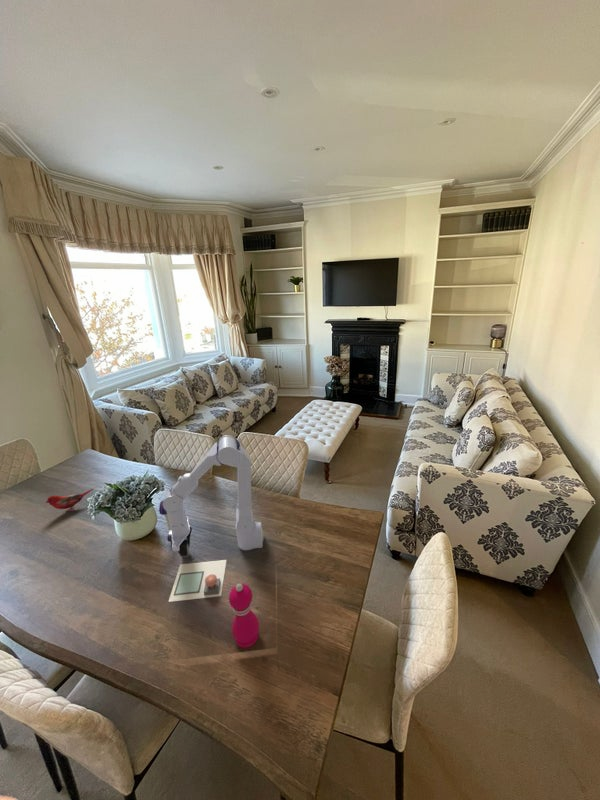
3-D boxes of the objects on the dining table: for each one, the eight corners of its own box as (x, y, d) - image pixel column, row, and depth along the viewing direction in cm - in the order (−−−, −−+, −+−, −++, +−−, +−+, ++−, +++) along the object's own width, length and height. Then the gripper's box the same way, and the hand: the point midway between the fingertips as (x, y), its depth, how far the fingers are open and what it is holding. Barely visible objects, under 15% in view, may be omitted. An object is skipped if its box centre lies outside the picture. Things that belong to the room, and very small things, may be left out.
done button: (218, 580, 105) (217, 573, 104) (216, 589, 102) (215, 583, 101) (207, 581, 105) (206, 575, 104) (205, 591, 101) (203, 584, 100)
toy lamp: (174, 542, 124) (166, 506, 119) (163, 540, 125) (154, 505, 120) (181, 533, 129) (173, 498, 123) (170, 531, 130) (162, 497, 124)
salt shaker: (191, 551, 118) (187, 536, 116) (189, 557, 116) (185, 542, 113) (182, 552, 118) (179, 536, 116) (180, 558, 115) (177, 543, 113)
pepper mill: (235, 626, 93) (226, 574, 86) (260, 623, 93) (253, 571, 86) (232, 653, 86) (222, 599, 79) (259, 650, 87) (252, 596, 80)
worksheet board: (226, 561, 114) (226, 556, 114) (221, 598, 101) (220, 592, 101) (180, 566, 114) (179, 561, 113) (169, 604, 100) (167, 598, 100)
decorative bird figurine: (50, 516, 142) (43, 497, 139) (96, 498, 153) (90, 480, 149) (51, 519, 140) (43, 500, 137) (97, 501, 151) (91, 482, 147)
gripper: (172, 508, 118) (179, 537, 123) (159, 537, 105) (167, 569, 109) (192, 506, 119) (198, 535, 123) (181, 535, 105) (189, 567, 110)
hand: (185, 551), depth 116 cm, fingers closed on salt shaker, 3 cm apart
